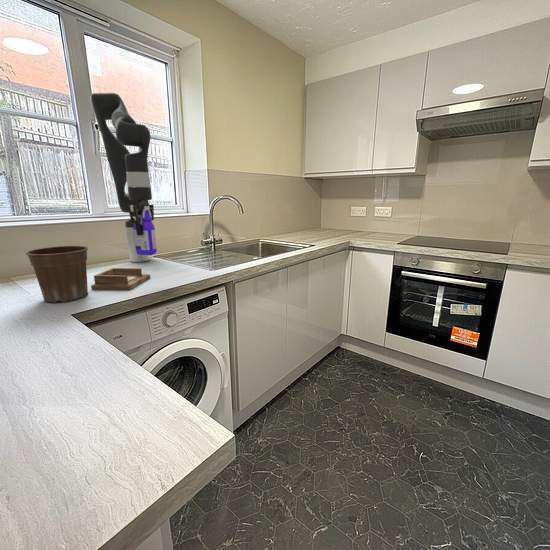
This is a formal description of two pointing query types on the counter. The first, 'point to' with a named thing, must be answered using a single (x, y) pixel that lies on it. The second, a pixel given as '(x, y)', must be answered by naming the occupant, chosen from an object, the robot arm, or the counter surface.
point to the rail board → (119, 279)
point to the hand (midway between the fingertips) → (144, 233)
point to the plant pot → (60, 272)
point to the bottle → (146, 237)
